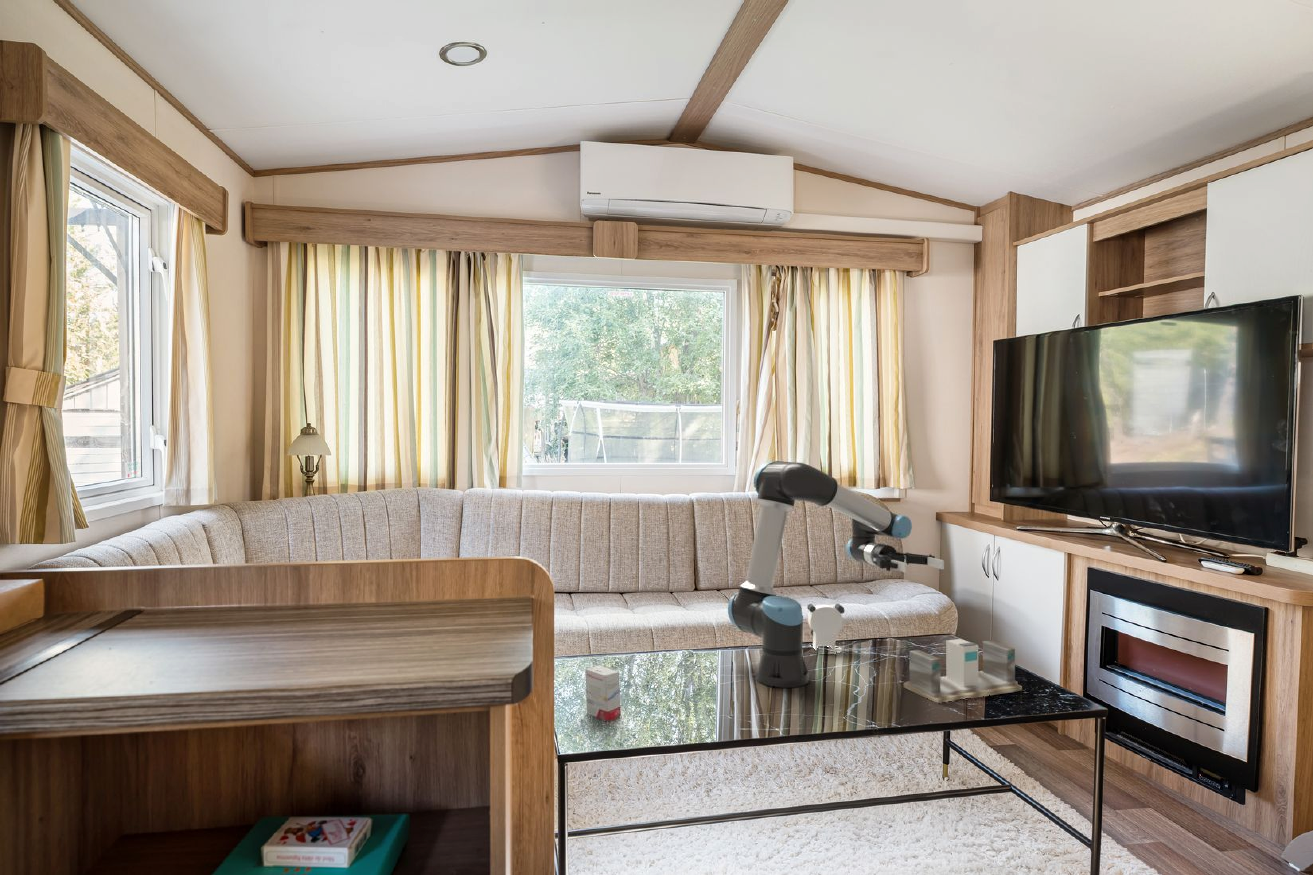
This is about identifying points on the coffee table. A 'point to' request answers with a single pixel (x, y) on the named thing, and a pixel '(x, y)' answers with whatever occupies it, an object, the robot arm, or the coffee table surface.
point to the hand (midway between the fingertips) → (924, 566)
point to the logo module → (962, 662)
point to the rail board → (939, 689)
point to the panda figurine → (825, 624)
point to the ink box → (603, 693)
